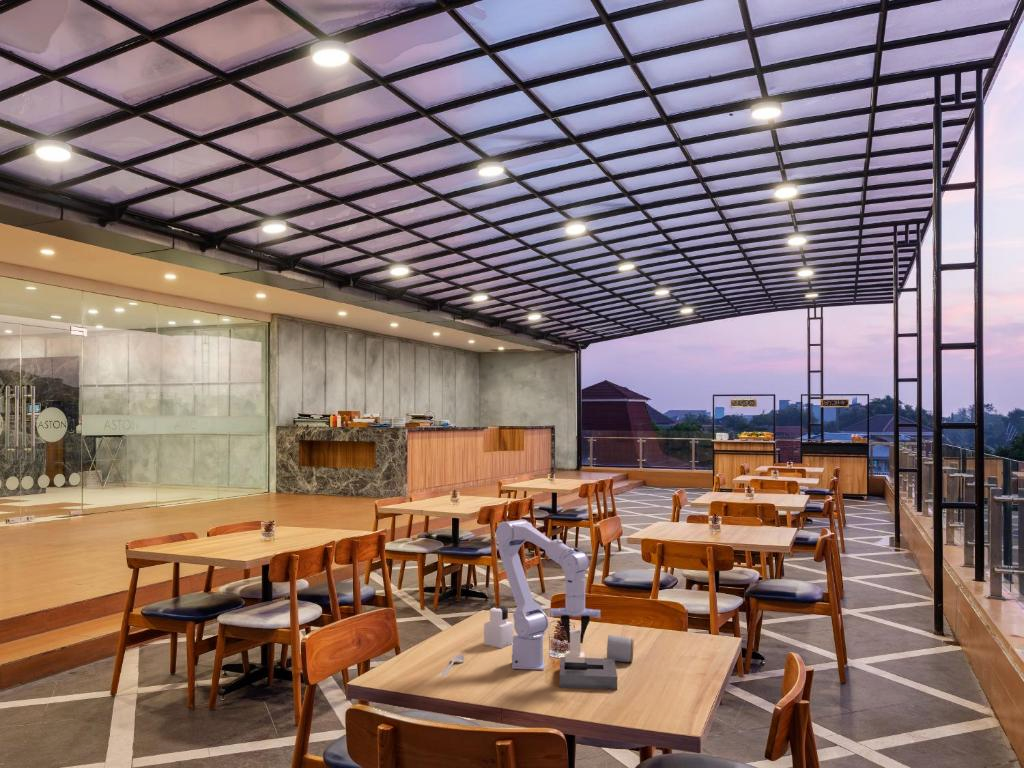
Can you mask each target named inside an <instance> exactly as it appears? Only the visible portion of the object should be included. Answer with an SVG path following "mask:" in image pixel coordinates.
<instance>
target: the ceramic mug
mask: <svg viewBox="0 0 1024 768" xmlns="http://www.w3.org/2000/svg"><path fill="white" fill-rule="evenodd" d="M634 643H635V640H634V639H633V638H632V637H627V636H620V635H612V634H608V636H607V647H606V659H614V661H615V662H622V663H630V662H633V660H634V649H635V648H634Z"/></svg>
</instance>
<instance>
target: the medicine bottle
mask: <svg viewBox="0 0 1024 768" xmlns="http://www.w3.org/2000/svg"><path fill="white" fill-rule="evenodd" d="M508 620H509V610H508V608H506V607H504V606H493V607H492V608H490V610H489V621H487V622H484V623H483V626H484V628H483V645H484V644H485V645H484V646H488V645H489V646H488V647H492V646H493V648H497V647H498V648H497V649H503V648H505V646H506V647H508V646H511V645H513V644H512V643H513V636H514V622H513V621H508ZM510 644H511V645H510ZM507 645H508V646H507ZM502 647H503V648H502Z"/></svg>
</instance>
